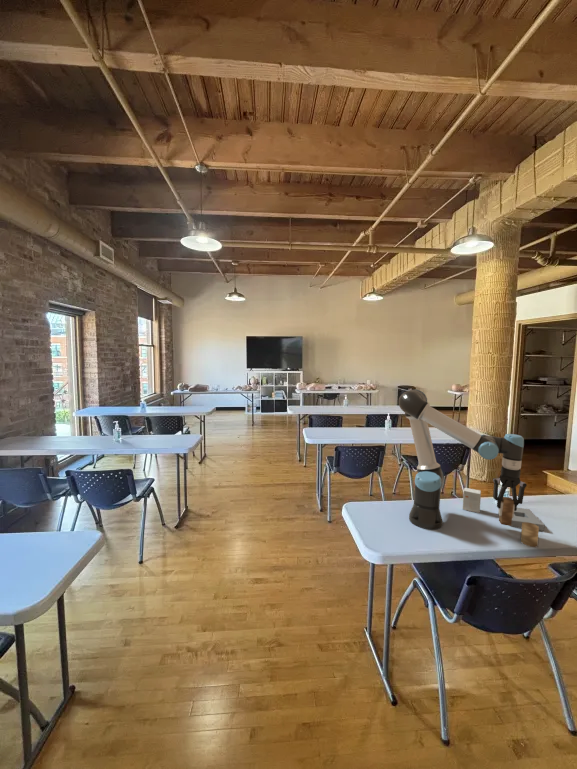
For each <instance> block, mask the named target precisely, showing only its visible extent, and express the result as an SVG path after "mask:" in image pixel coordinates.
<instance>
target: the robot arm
mask: <svg viewBox="0 0 577 769" xmlns="http://www.w3.org/2000/svg"><path fill="white" fill-rule="evenodd" d="M398 406H399V408H400V409H401V411H402V412H403V413H404V416H405V418H406V419H408V420H409V424H410V429H411V433H412V439H413V443H414V446H415V453H416V456H417V460H418V465H417V466H416V469H417V473H416V474H415V477H414V496H413V505H412V506H411V509H410V511H409V517H408V520H409V522H410V523H412V524H413V525H414V526H416V527H419V528H422V529H428V530H438V529H441V528H442V526H443V516H442V514H441V510H440V509H441V508H440V506H441V505H440V503H441V492H442V490H443V488H444V485H445V481H446V477H445V475H444V473H443V470H442V466H441V464H440V463H439V462H437V459H436V454H435V450H434V446H433V440H432V437H431V432H430V427H429V425H431V426H432V427H433V428H435V429H437V430H439V431H440V432H442V433H444V434H446V435H447V436H449V437H451V438H452V439H454V440H455V441H458V442H459V443H461V444H463V445H464V446H466V447H468V448H469V449H470V450H473V451H474V452H476V453H477V454H478V455H479V456H480V457H481V458H483V459H484V460H491V461H492V460H494V459H495V458H497V457H498V455H499V454H502V458H501V459H502V460H501V465H502V466H501V468H500V476H498V478H495V477H494V478H492V481H493V490H492V491H493V492H492V493H493V494H492V497H493V499H494V501H496V507H497V508H498V515H500V516H502V510H503V502H502V499H503V497H505V493H506V490H507V488H510V489H511V498H512V500H513V501H514V505H513V514H512V518H513V517H514V511H516V510H517V508H518V506H519V505H522V504H523V502H524V497H525V496H524V495H525V489H526V487H527V486H528V485H527V483H526V482H525V481H522V480H521V479H520V478H521V468H522V460H523V454H524V446H525V439H524V437H523V436H522V435H519V434H513V433H505V435H504V436H503V437H500V436H494V435H486V434H480V433H478V432H477V431H475V430H472V429H471V428H470V427H467V425H464V424H462V423H460V422H459V421H457V420H455V419H454V418H451V417H449V416H448V415H446V414H444V413H443V412H441V411H440V410H437V409H436V408H434V407H433V406H431V405H430V402H428V398H427V395H426V393H424V391H421V390H419V389H409V390H407V391H404V392H403V393H402V394H401V395H400V396H399V398H398ZM500 482H501V487H500V489H499V484H500ZM518 485H519V489H518V495H517V486H518Z"/></svg>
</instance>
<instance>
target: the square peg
mask: <svg viewBox="0 0 577 769" xmlns="http://www.w3.org/2000/svg"><path fill="white" fill-rule="evenodd" d="M502 502H503V510H502V516H500V515H499V514H498V515H499V516H498V522H499V523H500V524H501V525H503V526H507V527H508V526H509V527H512V526H511V523H512V514H513V505H514V501H513V497H508V496H507V497H506V496H503V499H502Z"/></svg>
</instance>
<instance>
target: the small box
mask: <svg viewBox="0 0 577 769" xmlns="http://www.w3.org/2000/svg"><path fill="white" fill-rule="evenodd" d="M481 496H482V490H481V489H474V488H469V487H464V488H463V497H462V510H463V511H468V512H473V513H477V514H480V510H481Z"/></svg>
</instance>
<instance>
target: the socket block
mask: <svg viewBox="0 0 577 769" xmlns="http://www.w3.org/2000/svg"><path fill="white" fill-rule="evenodd" d="M523 522H528V523H532V524H535V525H537V526H538V527H539V531H540V532H544V530H545V524H544V523H543V522H542V521H541V520H540V519H539V517H537V515H536V514H535V513H534V512H533V511H532V510H531V508H522V507H517V510H516V511H514V517H513V518H512V523H511V526H510V527H513V528H514V527H515V528H520V529H522V523H523Z"/></svg>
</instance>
